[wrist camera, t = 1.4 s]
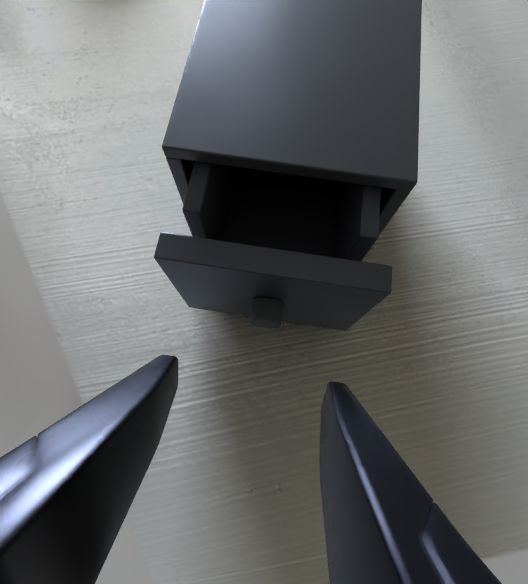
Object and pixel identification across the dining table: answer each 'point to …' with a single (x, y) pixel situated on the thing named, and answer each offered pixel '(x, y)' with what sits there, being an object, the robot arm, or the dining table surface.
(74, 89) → the dining table surface
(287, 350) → the dining table surface
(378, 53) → the dark grey box
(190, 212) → the fryer drawer
